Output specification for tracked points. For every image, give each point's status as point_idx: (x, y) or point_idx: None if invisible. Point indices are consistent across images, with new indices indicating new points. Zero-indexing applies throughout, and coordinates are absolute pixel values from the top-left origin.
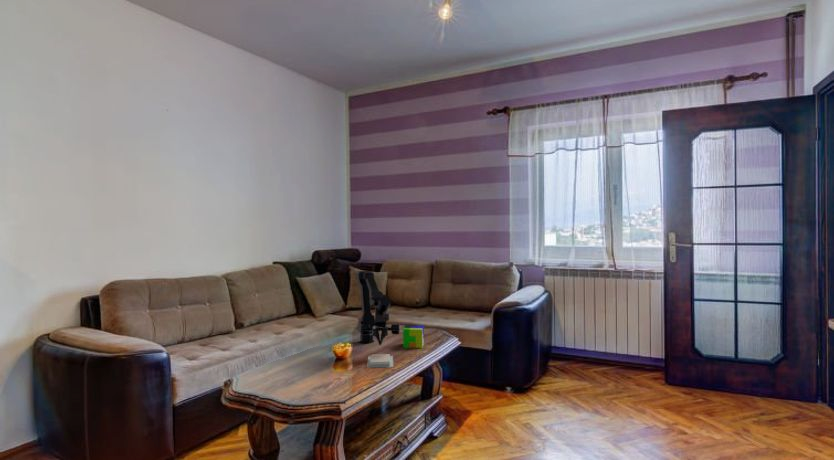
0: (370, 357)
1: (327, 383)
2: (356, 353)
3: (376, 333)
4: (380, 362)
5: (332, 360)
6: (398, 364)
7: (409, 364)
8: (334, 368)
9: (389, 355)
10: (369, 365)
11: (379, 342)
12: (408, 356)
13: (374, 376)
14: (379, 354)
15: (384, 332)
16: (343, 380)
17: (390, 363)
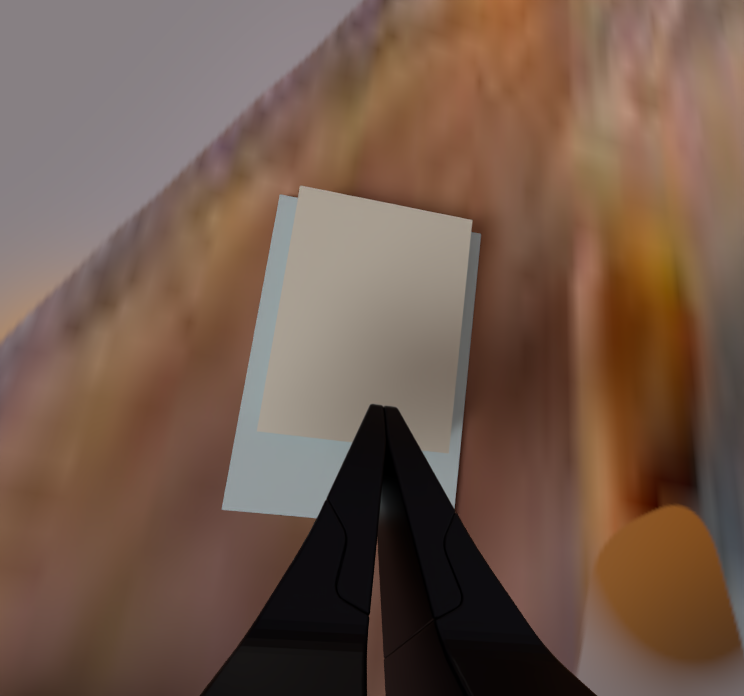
0: None
1: (693, 41)
2: None
3: (522, 643)
4: (383, 205)
5: (716, 482)
6: (221, 264)
7: (123, 241)
8: (684, 288)
9: (269, 377)
10: None
11: (395, 421)
12: (61, 487)
13: (436, 62)
14: None
15: (243, 656)
16: (616, 56)
17: None
